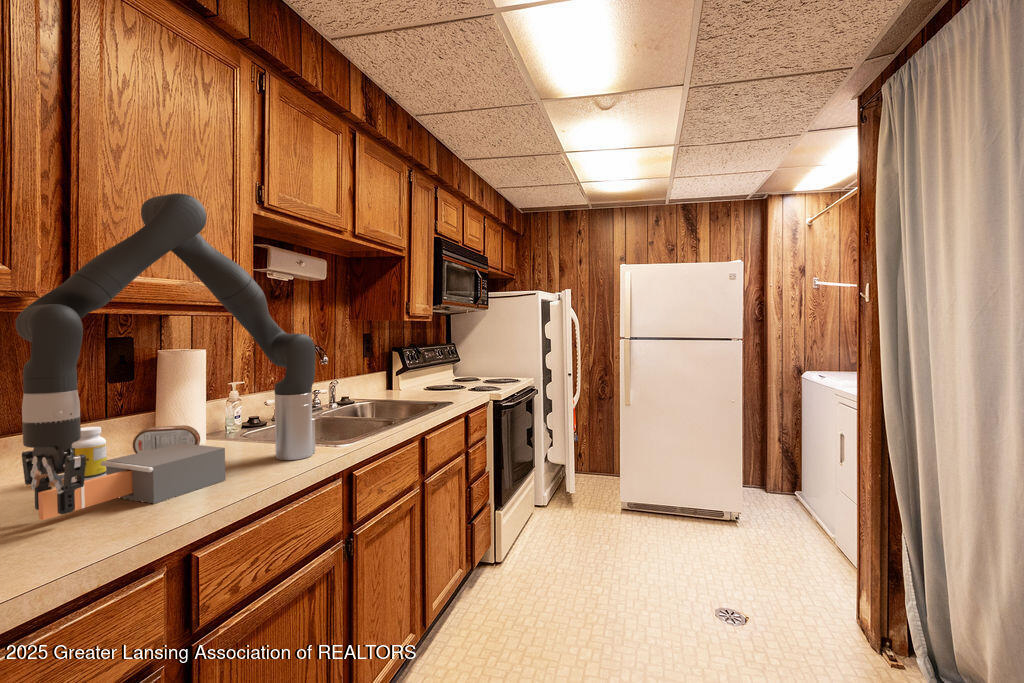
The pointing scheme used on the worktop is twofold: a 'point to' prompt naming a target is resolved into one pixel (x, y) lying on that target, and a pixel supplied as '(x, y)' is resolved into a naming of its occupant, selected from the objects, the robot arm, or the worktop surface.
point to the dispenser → (170, 470)
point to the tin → (165, 437)
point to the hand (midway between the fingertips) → (54, 510)
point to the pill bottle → (91, 452)
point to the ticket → (89, 493)
